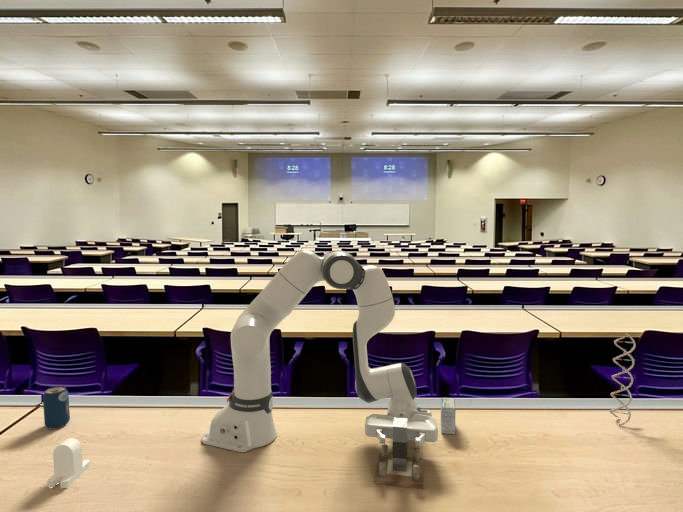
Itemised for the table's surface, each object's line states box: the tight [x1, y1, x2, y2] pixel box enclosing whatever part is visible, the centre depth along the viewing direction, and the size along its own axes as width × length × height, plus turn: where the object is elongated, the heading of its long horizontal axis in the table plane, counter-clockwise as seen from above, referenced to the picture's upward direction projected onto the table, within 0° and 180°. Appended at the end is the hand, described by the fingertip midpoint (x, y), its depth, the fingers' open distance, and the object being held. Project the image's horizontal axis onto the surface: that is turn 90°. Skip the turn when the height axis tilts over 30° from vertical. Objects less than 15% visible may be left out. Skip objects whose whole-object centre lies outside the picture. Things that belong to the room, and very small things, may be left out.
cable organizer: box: [46, 437, 91, 489], centre depth 113 cm, size 5×10×10 cm, turn 178°
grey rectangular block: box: [391, 417, 408, 472], centre depth 115 cm, size 4×5×13 cm
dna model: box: [609, 332, 637, 426], centre depth 142 cm, size 7×6×30 cm
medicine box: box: [440, 397, 457, 435], centre depth 139 cm, size 8×4×9 cm, turn 168°
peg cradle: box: [374, 443, 424, 489], centre depth 115 cm, size 12×12×5 cm
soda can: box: [42, 385, 71, 429], centre depth 140 cm, size 7×7×12 cm
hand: (400, 442), depth 114 cm, fingers open, 8 cm apart
